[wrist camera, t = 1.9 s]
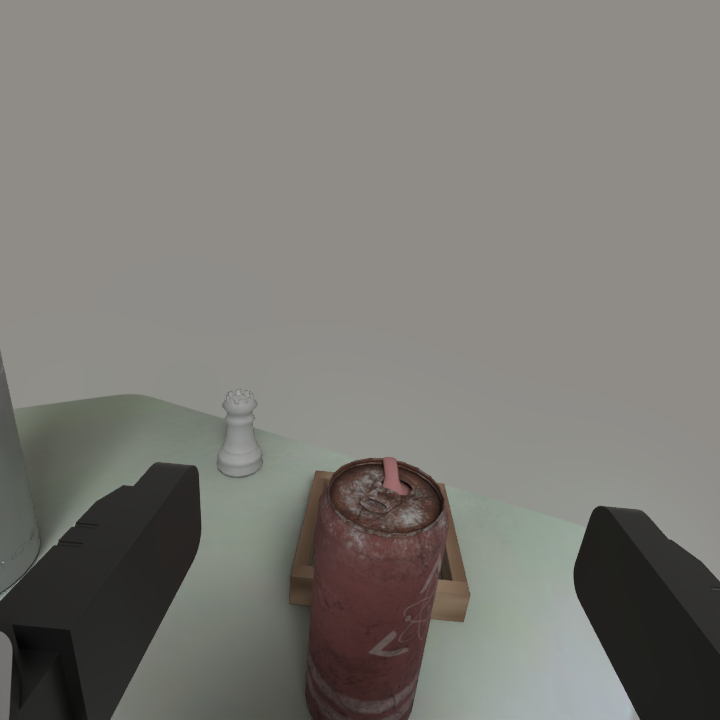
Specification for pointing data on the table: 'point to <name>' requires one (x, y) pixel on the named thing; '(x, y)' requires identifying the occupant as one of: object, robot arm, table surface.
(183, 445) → the table surface
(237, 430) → the rook chess piece
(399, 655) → the can
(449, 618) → the walnut collar
